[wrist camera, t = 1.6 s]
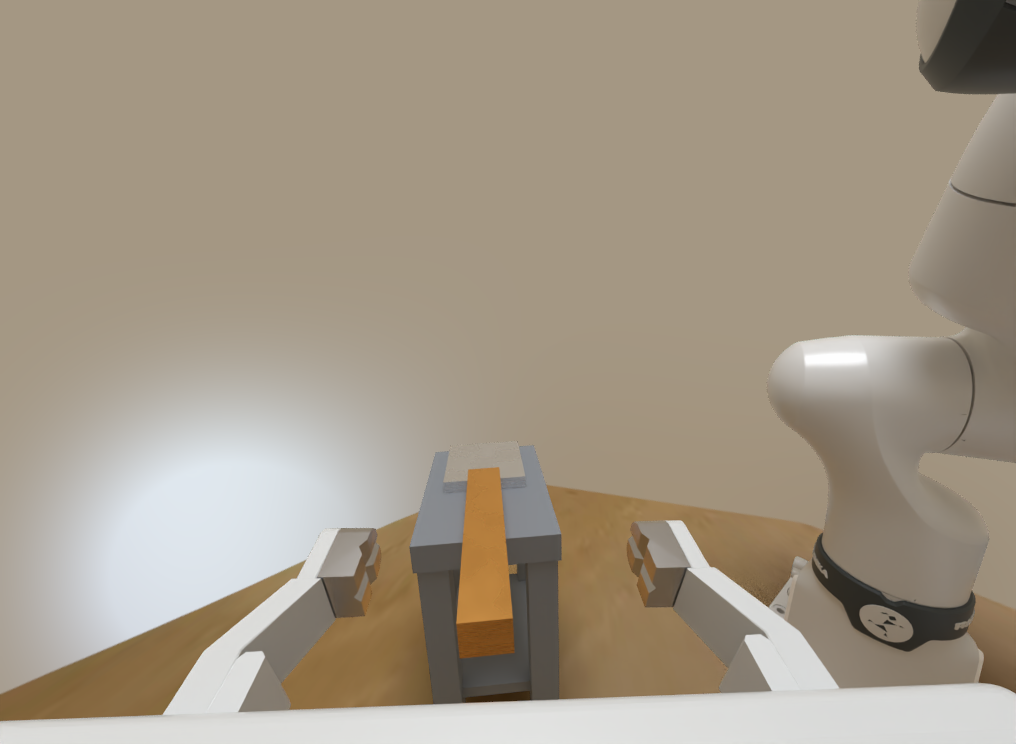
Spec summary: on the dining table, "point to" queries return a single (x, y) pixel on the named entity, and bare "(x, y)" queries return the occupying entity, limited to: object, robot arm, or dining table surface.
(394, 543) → the dining table surface
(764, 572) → the dining table surface
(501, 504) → the turner
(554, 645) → the stool
